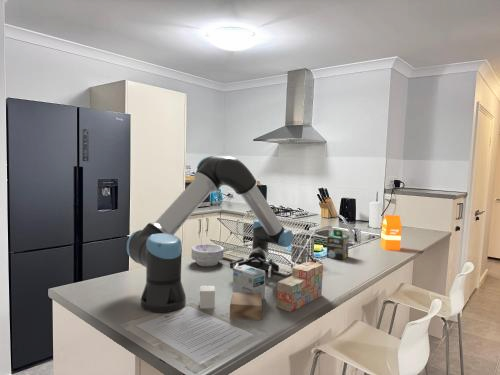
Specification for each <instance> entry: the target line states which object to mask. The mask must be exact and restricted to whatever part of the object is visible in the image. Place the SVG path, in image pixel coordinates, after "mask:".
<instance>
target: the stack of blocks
mask: <svg viewBox="0 0 500 375" xmlns="http://www.w3.org/2000/svg"><path fill="white" fill-rule="evenodd" d="M323 271H324V264H323V263H318V262H314V261H307V262H301V264H298V265H295V266H293V267H292V269H291V275H290V276H289V277H286V278H283V279H281V280H279V281H277V291H276V308H279V309H281V310H284V311H287V312H289V313H292V312H294V311H296V310H298V309H300V308H301V307H303V306H305V305H307V304H308V303H310V302H312V301H314V300H315V299H317V298H319V297H321V296H322V290H323V278H324V277H323V276H324V275H323V273H324V272H323Z"/></svg>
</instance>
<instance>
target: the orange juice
mask: <svg viewBox="0 0 500 375" xmlns="http://www.w3.org/2000/svg"><path fill="white" fill-rule="evenodd" d="M380 236H381V239H380V247H381V248H382V249H383V250H385V251H400V250H401V241H402V221H401V216H400V215H390V214H384V218H383V219H382V223H381V235H380Z"/></svg>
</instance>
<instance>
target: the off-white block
mask: <svg viewBox="0 0 500 375" xmlns="http://www.w3.org/2000/svg"><path fill="white" fill-rule="evenodd" d="M215 286H216V285H200V288H199V292H200V293H199V309H215V304H216V287H215Z"/></svg>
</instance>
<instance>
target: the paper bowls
mask: <svg viewBox="0 0 500 375" xmlns="http://www.w3.org/2000/svg"><path fill="white" fill-rule="evenodd" d="M224 250H225V249H224V247H223V246H221V245H218V244H214V243H201V244H200V243H199V244H195V245H193V246H192V247H191V255H190V256H191V259H192V260H193V261H195V263H196V264H197V265H199V266H200V267H213V266H216V265H218V263H219V262H220V261H221V260H223V258H224Z"/></svg>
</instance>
